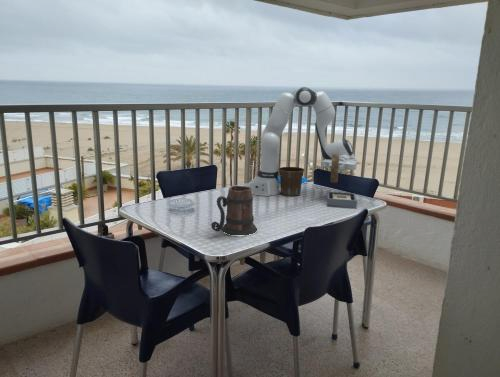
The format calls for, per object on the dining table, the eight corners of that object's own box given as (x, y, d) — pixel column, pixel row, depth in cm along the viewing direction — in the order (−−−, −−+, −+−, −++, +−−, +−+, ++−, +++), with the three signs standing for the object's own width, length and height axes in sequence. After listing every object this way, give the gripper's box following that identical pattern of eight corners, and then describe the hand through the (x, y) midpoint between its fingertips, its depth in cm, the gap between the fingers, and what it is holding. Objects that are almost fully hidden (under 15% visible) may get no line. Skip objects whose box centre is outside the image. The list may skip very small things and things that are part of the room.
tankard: (242, 221, 180) (243, 181, 174) (265, 231, 167) (266, 189, 162) (202, 231, 165) (201, 189, 160) (223, 243, 153) (223, 197, 147)
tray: (327, 206, 205) (327, 198, 204) (327, 198, 221) (327, 191, 219) (356, 208, 202) (356, 200, 201) (354, 200, 217) (354, 193, 216)
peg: (330, 182, 208) (332, 155, 203) (330, 181, 211) (331, 153, 207) (337, 182, 207) (339, 155, 203) (337, 181, 210) (339, 154, 206)
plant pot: (277, 190, 239) (278, 166, 235) (301, 190, 238) (303, 166, 234) (278, 196, 223) (279, 171, 219) (304, 197, 223) (305, 171, 218)
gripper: (325, 156, 222) (317, 159, 210) (359, 159, 211) (352, 163, 200) (325, 166, 223) (317, 170, 212) (358, 169, 213) (351, 174, 202)
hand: (334, 166), depth 206 cm, fingers closed on peg, 4 cm apart
